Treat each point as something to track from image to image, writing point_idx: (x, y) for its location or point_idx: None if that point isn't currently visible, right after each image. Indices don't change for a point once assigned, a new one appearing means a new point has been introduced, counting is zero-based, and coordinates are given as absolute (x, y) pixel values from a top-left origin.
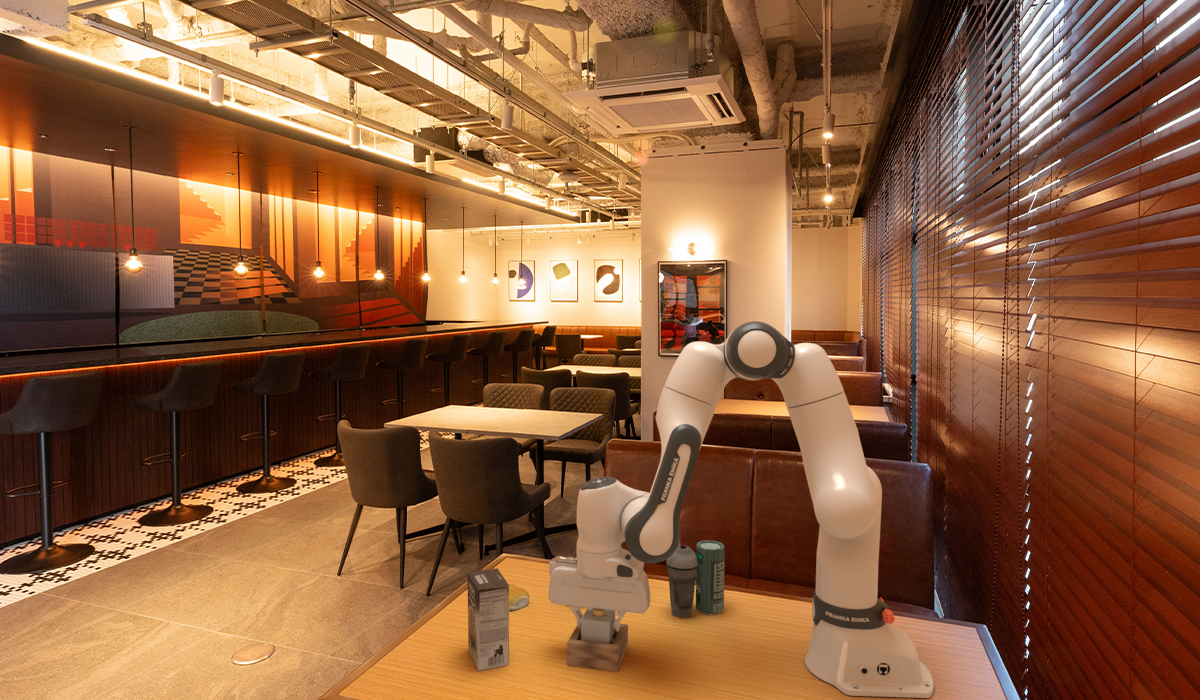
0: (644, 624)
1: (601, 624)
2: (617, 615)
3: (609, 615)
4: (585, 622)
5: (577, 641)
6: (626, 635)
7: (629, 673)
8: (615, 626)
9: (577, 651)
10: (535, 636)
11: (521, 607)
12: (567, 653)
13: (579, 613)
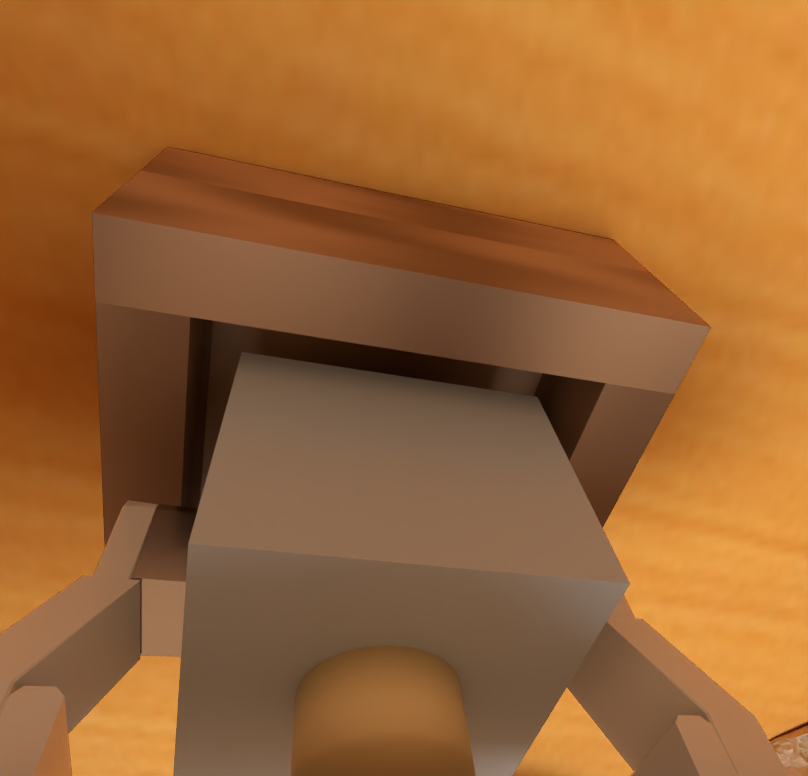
0: (105, 701)
1: (322, 521)
2: (51, 688)
3: (223, 691)
4: (556, 546)
5: (594, 353)
6: None
7: (47, 130)
8: (145, 546)
9: (572, 271)
10: (764, 547)
11: (777, 742)
12: (653, 276)
13: (616, 690)
